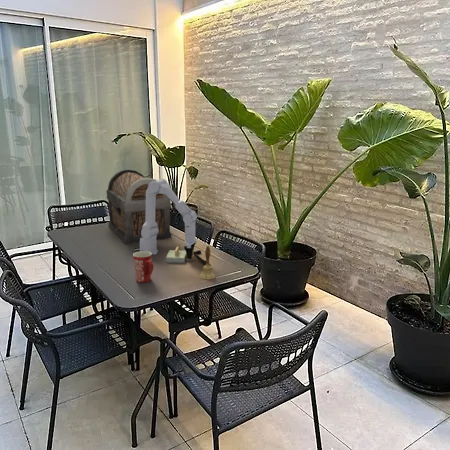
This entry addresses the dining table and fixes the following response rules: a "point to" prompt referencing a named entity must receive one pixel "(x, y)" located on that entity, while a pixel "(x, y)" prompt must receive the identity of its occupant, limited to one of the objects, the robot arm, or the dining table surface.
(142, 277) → the mug
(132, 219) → the treasure chest
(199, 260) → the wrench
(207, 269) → the hand bell
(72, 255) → the dining table surface
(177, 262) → the shallow grey tray
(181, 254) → the lid
